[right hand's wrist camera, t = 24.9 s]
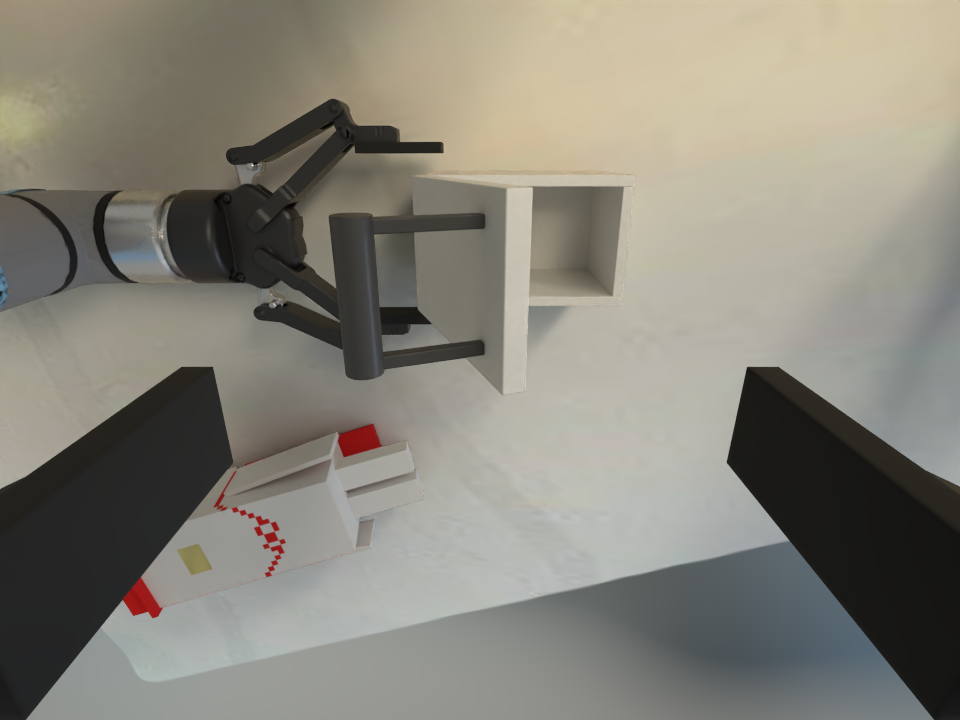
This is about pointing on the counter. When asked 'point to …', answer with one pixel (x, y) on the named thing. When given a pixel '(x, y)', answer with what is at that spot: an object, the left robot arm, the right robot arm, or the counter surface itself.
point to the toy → (281, 517)
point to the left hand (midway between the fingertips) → (445, 236)
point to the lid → (444, 278)
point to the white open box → (572, 233)
